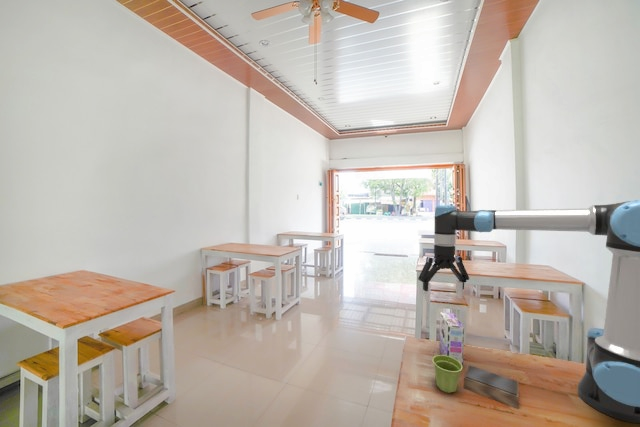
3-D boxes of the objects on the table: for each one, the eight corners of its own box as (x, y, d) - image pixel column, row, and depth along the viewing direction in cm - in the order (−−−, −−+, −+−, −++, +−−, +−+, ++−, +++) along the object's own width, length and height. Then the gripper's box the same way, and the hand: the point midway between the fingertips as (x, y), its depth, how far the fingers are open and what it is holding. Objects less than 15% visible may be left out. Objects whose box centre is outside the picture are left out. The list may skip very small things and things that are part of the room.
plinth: (518, 392, 89) (518, 380, 89) (518, 408, 82) (518, 396, 82) (467, 374, 98) (468, 364, 98) (463, 387, 91) (464, 376, 91)
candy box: (463, 369, 101) (464, 327, 101) (446, 367, 103) (448, 325, 102) (452, 350, 115) (453, 312, 114) (438, 348, 116) (439, 311, 116)
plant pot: (463, 384, 93) (463, 360, 93) (460, 401, 85) (461, 374, 85) (434, 375, 98) (435, 352, 98) (429, 389, 90) (429, 364, 90)
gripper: (466, 242, 109) (465, 293, 110) (410, 243, 105) (409, 296, 106) (480, 245, 102) (479, 300, 102) (419, 246, 98) (418, 303, 99)
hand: (443, 298), depth 104 cm, fingers open, 13 cm apart
